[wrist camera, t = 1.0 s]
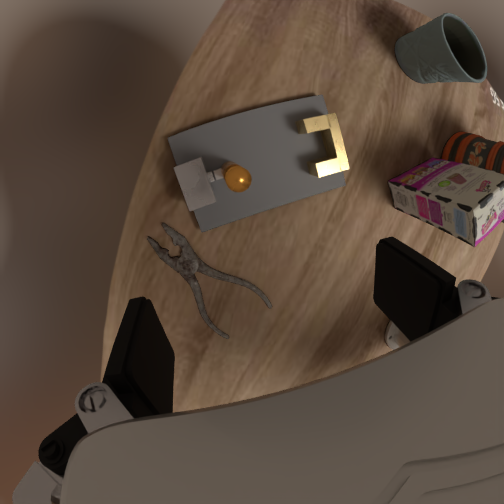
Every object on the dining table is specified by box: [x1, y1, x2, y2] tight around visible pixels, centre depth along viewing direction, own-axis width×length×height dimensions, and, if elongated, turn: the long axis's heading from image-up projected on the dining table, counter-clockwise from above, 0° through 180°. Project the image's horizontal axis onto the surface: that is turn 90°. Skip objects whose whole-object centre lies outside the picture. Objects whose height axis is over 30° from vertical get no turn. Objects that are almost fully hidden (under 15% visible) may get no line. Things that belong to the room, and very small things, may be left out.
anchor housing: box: [174, 157, 216, 211], centre depth 28 cm, size 3×5×3 cm, turn 16°
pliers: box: [147, 223, 272, 339], centre depth 37 cm, size 10×1×20 cm
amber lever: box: [207, 161, 252, 192], centre depth 25 cm, size 7×2×10 cm, turn 107°
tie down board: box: [168, 95, 346, 232], centre depth 31 cm, size 19×12×2 cm, turn 107°
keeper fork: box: [295, 113, 349, 177], centre depth 29 cm, size 4×7×3 cm, turn 17°
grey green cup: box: [395, 13, 487, 84], centre depth 22 cm, size 10×10×12 cm
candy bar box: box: [388, 158, 504, 247], centre depth 28 cm, size 11×5×16 cm, turn 116°
